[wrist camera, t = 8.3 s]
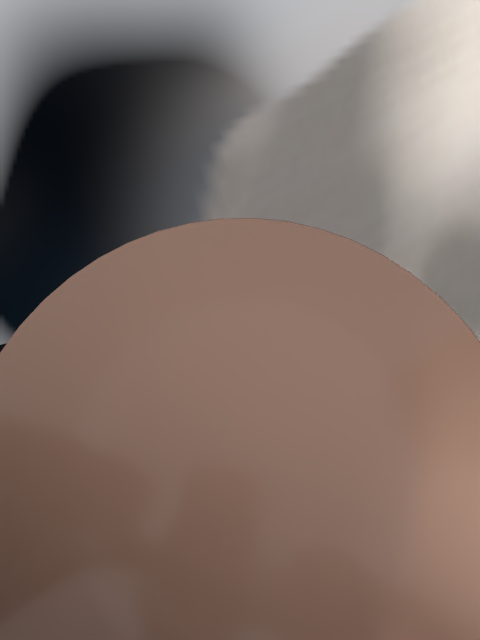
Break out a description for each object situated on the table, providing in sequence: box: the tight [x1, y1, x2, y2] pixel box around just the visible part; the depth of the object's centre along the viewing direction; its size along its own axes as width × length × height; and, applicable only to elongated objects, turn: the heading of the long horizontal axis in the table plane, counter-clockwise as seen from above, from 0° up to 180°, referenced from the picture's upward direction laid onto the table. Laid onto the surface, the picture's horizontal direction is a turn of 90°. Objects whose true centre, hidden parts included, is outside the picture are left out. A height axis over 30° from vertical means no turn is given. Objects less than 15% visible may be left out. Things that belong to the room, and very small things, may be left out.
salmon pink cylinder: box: [0, 218, 480, 640], centre depth 10 cm, size 8×8×11 cm
